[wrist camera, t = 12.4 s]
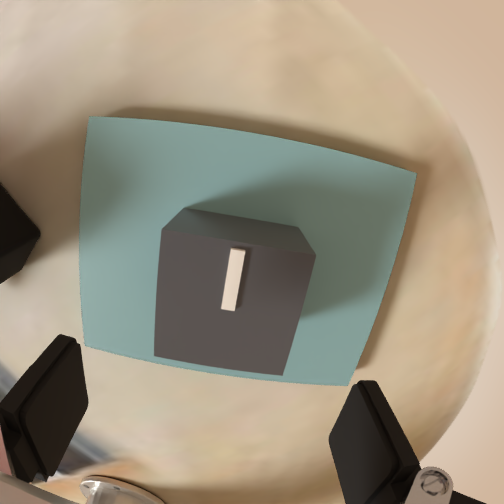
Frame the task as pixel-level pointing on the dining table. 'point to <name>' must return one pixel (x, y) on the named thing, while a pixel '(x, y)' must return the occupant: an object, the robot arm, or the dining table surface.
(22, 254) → the battery
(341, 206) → the plate
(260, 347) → the grey cube with strip
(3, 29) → the dining table surface
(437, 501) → the robot arm
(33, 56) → the dining table surface
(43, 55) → the dining table surface
